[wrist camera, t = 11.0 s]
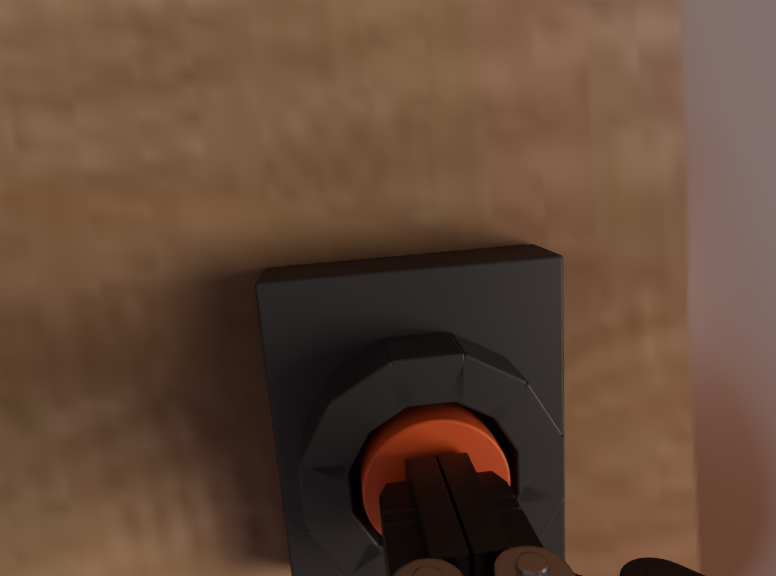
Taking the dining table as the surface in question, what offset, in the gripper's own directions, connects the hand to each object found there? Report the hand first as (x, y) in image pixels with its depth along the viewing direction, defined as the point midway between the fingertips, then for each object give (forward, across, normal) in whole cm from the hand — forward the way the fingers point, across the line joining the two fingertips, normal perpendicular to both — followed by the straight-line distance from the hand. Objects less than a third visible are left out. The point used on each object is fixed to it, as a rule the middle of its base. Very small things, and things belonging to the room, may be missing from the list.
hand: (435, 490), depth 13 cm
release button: (+2, 0, 0) cm, 2 cm away
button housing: (+4, 0, 0) cm, 4 cm away
